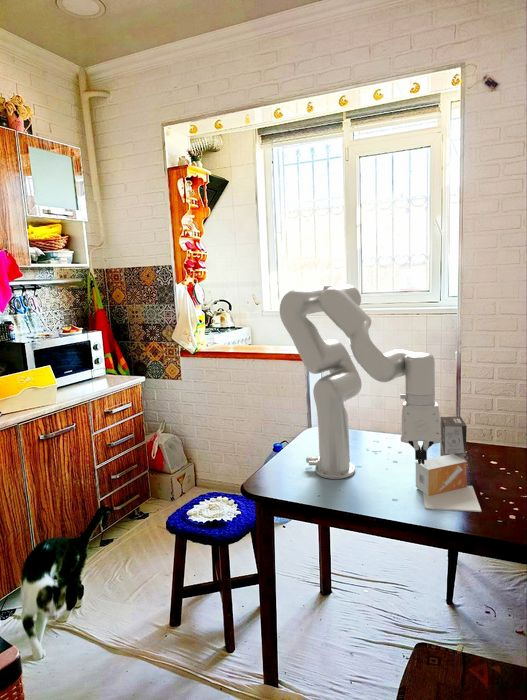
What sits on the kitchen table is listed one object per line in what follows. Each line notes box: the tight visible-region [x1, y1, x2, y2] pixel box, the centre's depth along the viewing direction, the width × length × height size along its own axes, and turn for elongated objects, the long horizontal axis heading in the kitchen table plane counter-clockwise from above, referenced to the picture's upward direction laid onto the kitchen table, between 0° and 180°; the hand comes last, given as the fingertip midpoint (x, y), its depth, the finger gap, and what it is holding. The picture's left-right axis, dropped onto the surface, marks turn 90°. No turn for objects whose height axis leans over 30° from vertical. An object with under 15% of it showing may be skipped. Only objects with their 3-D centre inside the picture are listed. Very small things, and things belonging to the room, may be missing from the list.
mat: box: [422, 485, 482, 513], centre depth 138 cm, size 14×14×1 cm
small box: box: [415, 454, 468, 496], centre depth 143 cm, size 8×6×13 cm
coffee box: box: [439, 416, 468, 461], centre depth 153 cm, size 9×6×16 cm
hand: (421, 462), depth 138 cm, fingers closed
